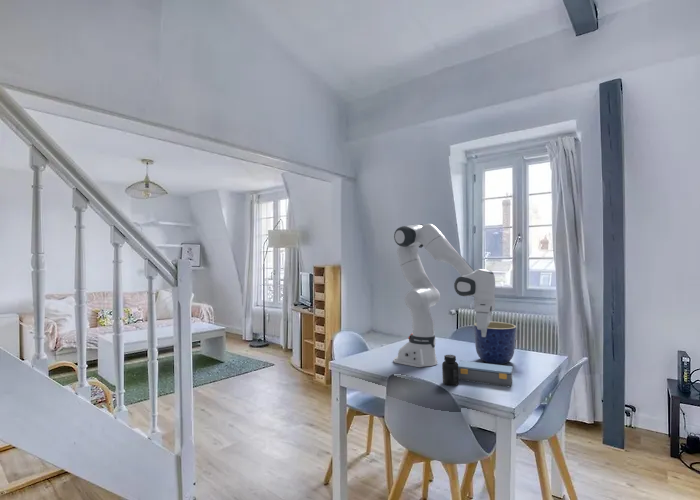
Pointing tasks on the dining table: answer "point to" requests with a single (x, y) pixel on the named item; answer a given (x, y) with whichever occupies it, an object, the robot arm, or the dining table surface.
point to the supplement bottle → (450, 371)
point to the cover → (485, 368)
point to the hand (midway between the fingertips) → (484, 336)
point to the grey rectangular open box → (485, 377)
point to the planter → (496, 342)
